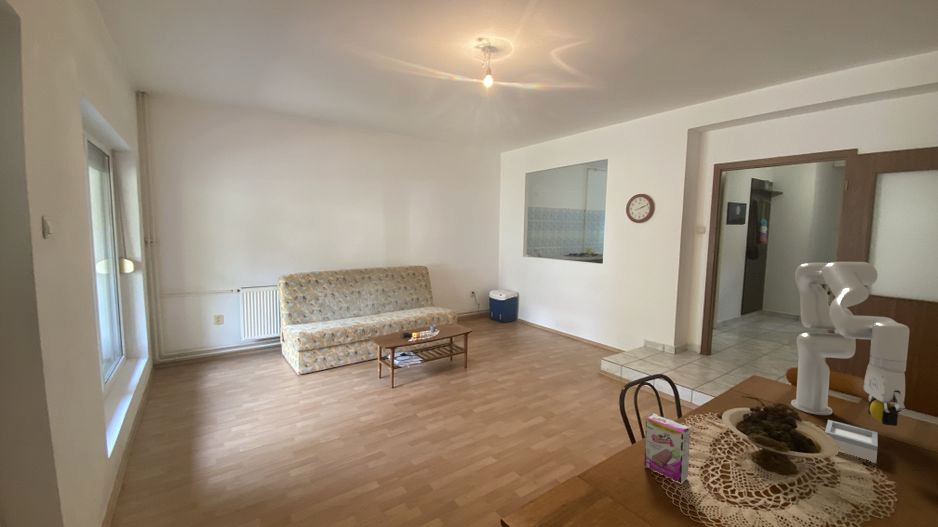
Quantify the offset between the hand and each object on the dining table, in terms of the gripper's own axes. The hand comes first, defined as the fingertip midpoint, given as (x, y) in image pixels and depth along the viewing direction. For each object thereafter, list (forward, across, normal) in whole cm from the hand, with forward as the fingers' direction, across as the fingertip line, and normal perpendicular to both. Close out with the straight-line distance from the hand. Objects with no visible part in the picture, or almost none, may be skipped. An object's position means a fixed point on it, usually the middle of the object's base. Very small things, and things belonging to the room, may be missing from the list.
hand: (881, 419), depth 117 cm
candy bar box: (+15, +26, -63) cm, 70 cm away
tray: (+15, -8, -3) cm, 17 cm away
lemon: (+2, 0, 0) cm, 2 cm away
